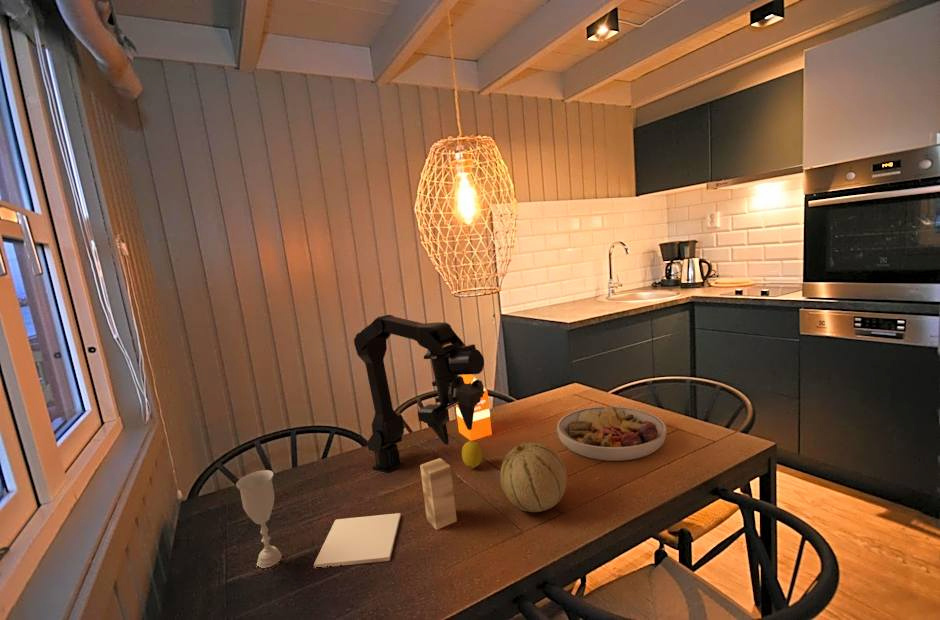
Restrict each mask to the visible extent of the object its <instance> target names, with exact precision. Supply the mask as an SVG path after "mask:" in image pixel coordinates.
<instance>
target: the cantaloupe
mask: <svg viewBox="0 0 940 620" xmlns="http://www.w3.org/2000/svg"><path fill="white" fill-rule="evenodd" d="M567 475H568V474H567V470H566V465H565V464H564V462H563V460H562V458H561V457H560V455H559V454H558V453H557V452H556V451H555V450H554V449H552V448H551V447H550V446H548V445H545V444H543V443H539V442H538V443H537V442H534V441H532V442H524V443H522V444H519V445H517V446H515V447H514V448H512V449H511V450H510V451H509V452H508V453H507V454H506V455H505V457H504V458H503V461H502V464H501V467H500V486H501V488H502V490H503V492H504V495H505V496H506V498H507V499H508V501H509V502H511V504H512V505H513V506H514V507H515V508H516V509H519V510H522V511H524V512H529V513H540V512H543V511H547V510H549V509H550V510H551V509H552V508H553V507H555V505H557V504H558V503H560V500H561V499H562V497H563V496H564V494H565V491H566V489H567V481H568V479H567V478H568V477H567Z"/></svg>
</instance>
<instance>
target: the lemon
mask: <svg viewBox="0 0 940 620" xmlns="http://www.w3.org/2000/svg"><path fill="white" fill-rule="evenodd" d="M463 444H464V445H463V446H462V449H461V459H462V461H463V463H464V464H465V465H466V466H467V467H469V468H472V469H476V467H478V466H479V465H480V464H481V462H482V460H483V450H482V447H481V445H480V444H479V443H478V442H477V441H476V440H473V441H472V440H468V441H467V442H466V443H463Z"/></svg>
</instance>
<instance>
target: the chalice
mask: <svg viewBox="0 0 940 620" xmlns="http://www.w3.org/2000/svg"><path fill="white" fill-rule="evenodd" d="M273 476H274V472H273V471H272V470H269V469H266V470H265V469H263V470H262V469H261V470H257V471H252V472H251V473H249V474H246V475H244V476H242V477H240V479H238V480H237V481H236V483H235V484H236V485H235V486H236V488H237V489H238V490H239V492H240V498H241V503H242V508H243V510H244V512H245V514H247V516H248V517H249V518H250V519H251V520H252V521H253V522H254V523H255V524H256V525H260V534H261V535H262V538H261V543H263V545H264V547H263V549H262V550H261V551H260V552H259V554H258V558H257V562H256V565H257V566H259V567H261V568H266V567H270V566H272V565H274V564H276V563H277V562H278V561H280V559H281V557H282V555H283V554H282V553H281V552H280V550H278V548H277V547H276V546H274V545H270V539H271V536H269V535H268V531H269V528H268V527H267V525H266V523H267V522H268V521H269V520H270V518H271V515H272V511H273V508H274V503H275V491H274V485H273V478H274V477H273ZM281 554H282V555H281ZM257 566H256V567H257Z"/></svg>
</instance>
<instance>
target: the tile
mask: <svg viewBox="0 0 940 620" xmlns="http://www.w3.org/2000/svg"><path fill="white" fill-rule="evenodd" d="M400 520H401V512H398V513H397V512H395V513H389V514H388V513H386V514H379V515H369V516H367V515H366V516H358V517H347V518H338V519H334V522H333V524H332V526H331V528H330V530H329V532H328V534H327V536H326V538H325V540H324V543H323V545H322V546H321V548H320V551H319V553H318V555H317V557H316V559H315V561H314V564H313V568H314V569H317V568H316V567H322V568H330V567H329V566H332V567H341V566H340V565H342V566H350V565H352V566H353V565H360V564H371V563H381V562H390V561H391V558H392V553H393V549H394V545H395V540H396V536H397V534H398V529H399V524H400ZM327 566H328V567H327Z"/></svg>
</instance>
